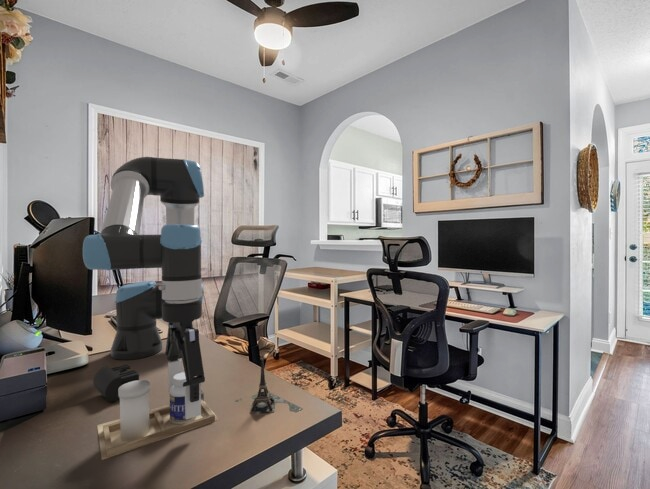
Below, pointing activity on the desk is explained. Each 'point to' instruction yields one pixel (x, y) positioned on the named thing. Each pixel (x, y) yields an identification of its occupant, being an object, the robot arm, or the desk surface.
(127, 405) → the seated billet
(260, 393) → the eiffel tower figurine
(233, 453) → the desk surface
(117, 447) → the wooden compartment tray
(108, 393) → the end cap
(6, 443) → the desk surface
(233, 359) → the desk surface
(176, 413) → the pill bottle
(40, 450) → the desk surface
